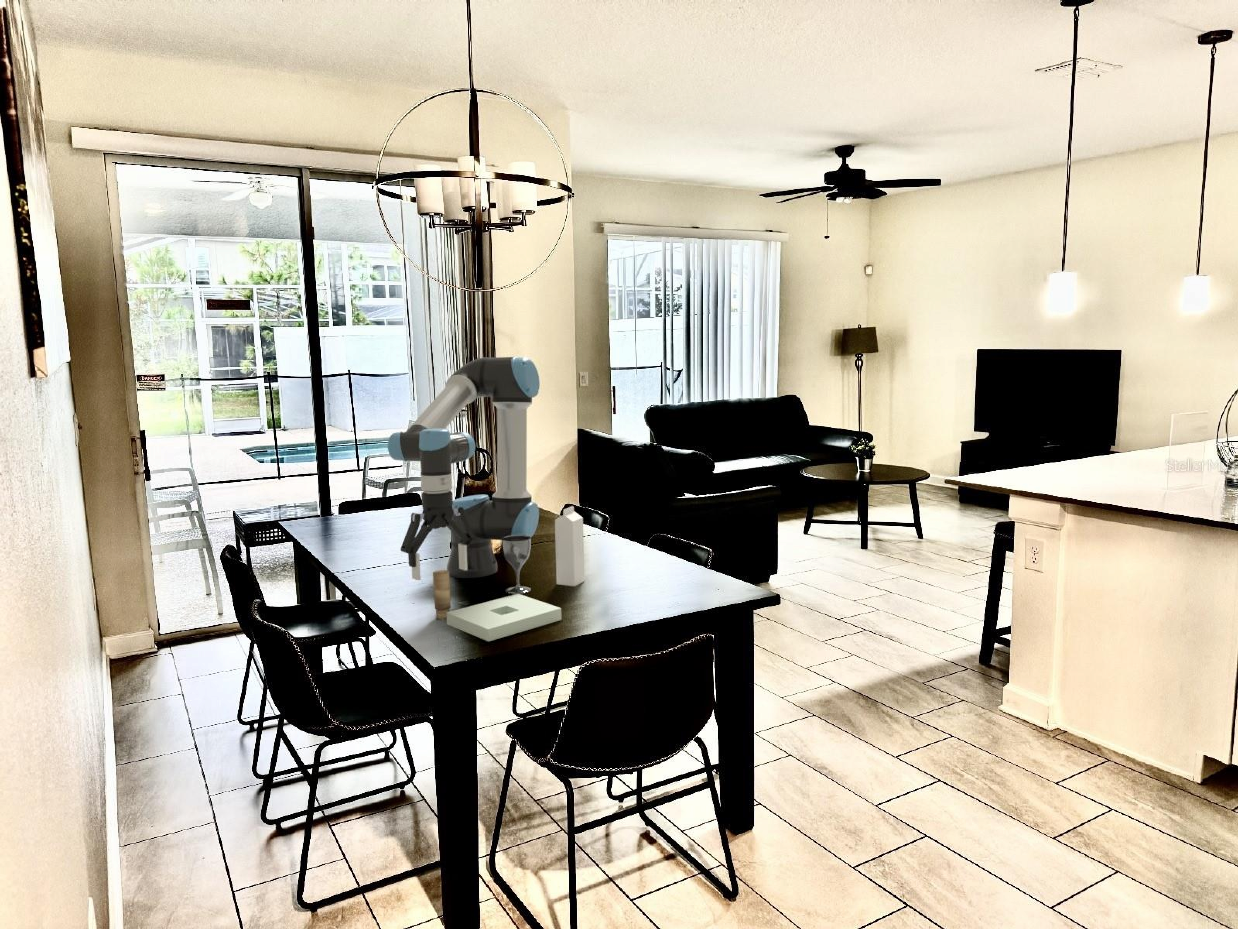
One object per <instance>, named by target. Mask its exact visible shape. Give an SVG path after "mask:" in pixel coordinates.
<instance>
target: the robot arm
mask: <svg viewBox="0 0 1238 929" xmlns="http://www.w3.org/2000/svg"><path fill="white" fill-rule="evenodd" d="M539 390H540V376H539V372H538V369H537V367H536V365H535V363H534V362H533V361H532V360H531V358H528V357H523V356H522V357H521V356H503V357H484V356H483V357H479V358H476V359H474V360H471V361H469V362H467V363H465V364H464V365H462V366H461V367H460V368H458V369H457V370H455V372H453V374H452V375H450V376H449V377H448V378H447V380H446V383H445V387H444V388H443V390H441V392H440V393H439V394H437V396H436V398H434V399H433V401H432V402H431V403H430V404H429V405H428V406H427V407H426V408H425V409H424V411H423V412H422V413H421V414H420V415H419V417H417V419H415V421H414V422H413V423H412V424H411V425H410V426H409V427H408V429H407V430H406V431H399V432H397V431H396V432H393V433H392V434H391V435H390V436H389V437H388V441H387V451H388V453H389V454H388V455H389V456H390V458H391V459H392V460H395V461H400V462H401V461H402V462H405V463H406V462H420V463H419V464H420V484H421V485H420V486H421V487H420V489H421V491H422V493H421V506H422V513H416V512H412V513H411V515H410V523H409V525H408V528H407V531H406V533H405V535H404V538H403V541H402V544H401V547H400V552H402V553H404V554H405V553H406V554H407V555H408V557H407V558H408V566H409V567H410V568H411V577H412V579H413V580H417V581H420V580H421V560H420V558H421V557H420V556H421V555H420V553H418V551H419V550H420V548H421V546H422V545H423V543H424V542H425V541H426V538H427V537H428V535H429V534H430V532H432V530H437V529H441V528H448V530H450V538H451V540H450V541H451V549H450V554H449V557H448V561H447V564H446V570H448V571H449V577H453V578H460V579H475V578H482V577H487V576H491V575H493V574H496V573H497V572H498V561H497V559H496V556H495V554H494V553H495V552H494V551H493V548H492V546H491V541H492V540H493V541H502V538H503V537H506V536H510V535H527V536H530V537H531V538H532V537H533V536H534V534H535V532H536V530H537V528H538V524H539V519H540V509H539V506H538V504H537V503H536V502H534V501H532V496H533V495H532V494H531V493H530V492H529V491H528V490H527V470H528V469H527V456H528V455H527V453H528V452H527V451H528V450H527V443H528V442H527V440H528V438H527V436H528V432H527V431H528V430H527V428H528V426H527V425H528V423H527V421H528V420H527V419H528V418H527V417H528V414H527V413H528V409H529V407H530V406H531V405H532V403H533V398H535V397H537V396H538V395H539ZM483 397H484V398H485V397H486V398H491V399H492V401H491V403H492V404H493V406H494V407H496V409H497V416H496V417H497V422H496V423H497V431H496V432H497V433H496V434H497V443H496V444H497V445H496V446H497V450H496V451H497V452H496V454H497V459H496V460H497V467H496V468H497V473H496V474H497V476H496V477H497V480H496V481H497V482H496V483H497V486H496V487H497V489H496V490H495V492H494V493H493V494H492V496H491V500H490V497H489V495H488V494H474V495H468V496H464V497H459V498H456V499H453V498H454V496H453V491H452V489H453V481H452V480H453V478H452V476H453V475H452V464H456V463H463V462H465V461H467V460H469V459H470V458H471V457H473V456H474V454H475V451H476V442H475V439H474V438H473V437H472V435H471V434H470V433H468V432H463V431H456V432H450V431H449V429H448V427H449V425H450V424H451V423H452V422H453V421H454V420H455V418H456V417H457V416H458V415H459V413H461V411H462V410H463V409H464V408H465V407H466V405H469V404H471V403H473V402H474V401H475V400H476V399H478V398H483ZM422 520H423V522H422ZM421 522H422V524H421ZM420 525H421V526H420Z"/></svg>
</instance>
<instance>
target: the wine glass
mask: <svg viewBox="0 0 1238 929" xmlns="http://www.w3.org/2000/svg"><path fill="white" fill-rule="evenodd" d="M531 538H532V537H530V536H527V535H510V536H506V537H503V538H502V540H501V544H502V545H501V546H502V553H503V556H504V558H505V560H506V561H507V562H508V563H509V564H510V565H511V566H512V568H513V570H514V573H515V579H516V585H515V586H511V587H507V588H506V589H505V593H507V592H508V594H510V593H511V594H512V595H515V594H520V595H523V594H527V593H529V592H531V589H532V588H531V587H528V586H524V585H523V586H522V585H521V584H520V574H521V573H520V572H521V569H522V567H523V565H524V564H525V563H526V562H527V560H528V559H529V557H530V554H531V546H532V545H531V544H532V539H531ZM526 592H527V593H526ZM511 594H510V595H511Z"/></svg>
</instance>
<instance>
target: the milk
mask: <svg viewBox="0 0 1238 929" xmlns="http://www.w3.org/2000/svg"><path fill="white" fill-rule="evenodd" d="M562 514H563V515H561V516H559V517H558V518H555V519H554V532H555V533H554V535H555V537H554V538H555V540H554V541H555V542H554V543H555V569H556V571H555V572H556V573H555V575H556V576H555V577H556V585H561V586H567V587H568V586H569V587H577V586H578V585H580V584H582V583H583V582H585V557H584V556H585V553H584V552H585V550H584V549H585V548H584V546H585V545H584V517H582V515H580V514H579V513H577V512H576V511H575V507H574V506H573V505H571V506H569V507H567V508H564V509H563V511H562Z"/></svg>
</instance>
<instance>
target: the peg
mask: <svg viewBox="0 0 1238 929" xmlns="http://www.w3.org/2000/svg"><path fill="white" fill-rule="evenodd" d="M432 580H433V583H432V584H433V601H434V603H433V604H434V609H435V612H436V613H435V614H436V620H438V621H447V612H450V609H451V607H452V606H451V605H452V604H451V586H450V584H451V583H450V576H449V571H448V570H447V569H440V570H439V569H438V570H434V571H433V572H432Z"/></svg>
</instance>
